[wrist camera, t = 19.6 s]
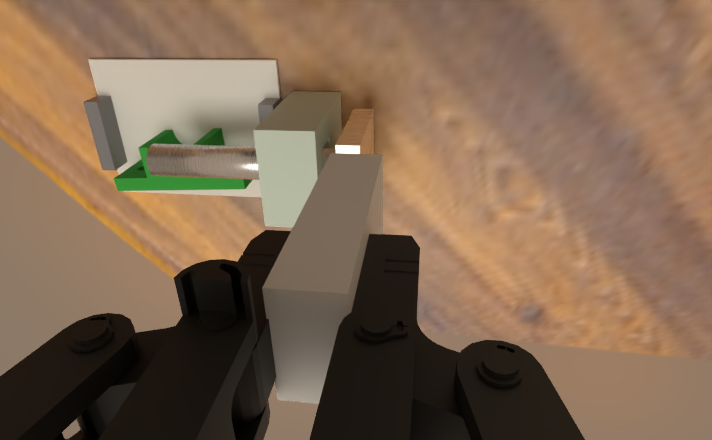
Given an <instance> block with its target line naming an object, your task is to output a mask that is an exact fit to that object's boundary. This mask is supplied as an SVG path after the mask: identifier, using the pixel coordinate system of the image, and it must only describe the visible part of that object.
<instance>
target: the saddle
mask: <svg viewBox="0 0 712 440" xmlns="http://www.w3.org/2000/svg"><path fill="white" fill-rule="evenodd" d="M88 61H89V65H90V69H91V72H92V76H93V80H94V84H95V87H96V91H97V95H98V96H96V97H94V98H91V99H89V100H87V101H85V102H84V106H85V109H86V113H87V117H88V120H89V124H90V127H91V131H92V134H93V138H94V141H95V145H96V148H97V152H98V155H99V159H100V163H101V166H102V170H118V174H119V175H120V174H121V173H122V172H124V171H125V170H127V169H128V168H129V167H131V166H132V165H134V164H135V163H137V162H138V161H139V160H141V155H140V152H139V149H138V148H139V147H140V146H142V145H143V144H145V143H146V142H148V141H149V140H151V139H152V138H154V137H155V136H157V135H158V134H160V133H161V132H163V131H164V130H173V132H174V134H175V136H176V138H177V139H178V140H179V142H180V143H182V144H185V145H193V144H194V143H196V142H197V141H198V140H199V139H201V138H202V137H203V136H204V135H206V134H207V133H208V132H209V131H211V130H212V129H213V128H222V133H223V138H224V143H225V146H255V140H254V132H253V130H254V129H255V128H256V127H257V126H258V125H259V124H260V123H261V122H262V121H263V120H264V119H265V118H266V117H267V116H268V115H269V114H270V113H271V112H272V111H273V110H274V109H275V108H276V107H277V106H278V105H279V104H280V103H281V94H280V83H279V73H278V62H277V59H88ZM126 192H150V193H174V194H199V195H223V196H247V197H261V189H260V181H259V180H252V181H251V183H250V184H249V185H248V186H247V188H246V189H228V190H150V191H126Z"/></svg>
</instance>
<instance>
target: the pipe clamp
mask: <svg viewBox="0 0 712 440" xmlns="http://www.w3.org/2000/svg"><path fill="white" fill-rule="evenodd" d="M152 144H182V143H180V142H179V140H178V139H177V138H176V136H175V134H174V132H173V130H164V131H163V132H161V133H160V134H158V135H157V136H155V137H154V138H152V139H151V140H149V141H148V142H146V143H145V144H143V145H142V146H140V147H139V148H138V149H139V152H140V155H141V160H139V161H138V162H137V163H135V164H134V165H132V166H131V167H129V168H128V169H127V170H125V171H124V172H122V173H121V174H120V175H118V176H117V177H115V178H114V180H115V184H116V187H117V190H118V191H150V190H228V189H246V188H247V186H248V185H249V184H250V183H251V181H252V180H250V179H223V178H196V177H169V176H153V175H152V174H151V173H150V172H149V170H148V167H147V162H146V156H147V151H148V149H149V147H150V146H151V145H152ZM193 145H222V146H225V143H224V138H223V133H222V128H213V129H212V130H211V131H209V132H208V133H207V134H206V135H204V136H203V137H202V138H201V139H199V140H198V141H197V142H196V143H194V144H193Z"/></svg>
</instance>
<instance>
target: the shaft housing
mask: <svg viewBox="0 0 712 440" xmlns="http://www.w3.org/2000/svg"><path fill="white" fill-rule="evenodd" d="M253 132H254V140H255V148H256V157H257V165H258V173H259V181H260V189H261V197H262V205H263V213H264V221H265V226H275V227H294V225H295V223H296V221H297V219H298V217H299V215H300V213H301V211H302V209H303V207H304V205H305V203H306V201H307V199H308V197H309V195H310V193H311V191H312V189H313V187H314V185H315V183H316V181H317V179H318V177H319V175H320V173H321V171H322V159H321V151H322V149H323V148H330V149H336V146H335V145H336V143H337V141H338V139H339V137H340V135H341V133H342V112H341V92H318V91H292V92H291V93H290V94H289V95H288V96H287V97H286V98H285V99H284V100H283V101H282V102H281V103H280V104H279V105H278V106H277V107H276V108H275V109H274V110H273V111H272V112H271V113H270V114H269V115H268V116H267V117H266V118H265V119H264V120H263V121H262V122H261V123H260V124H259V125H258V126H257V127H256V128H255V129H254V130H253Z"/></svg>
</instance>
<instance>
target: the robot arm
mask: <svg viewBox="0 0 712 440" xmlns="http://www.w3.org/2000/svg"><path fill="white" fill-rule="evenodd" d="M382 227H383V155H378V154H343V153H331V154H330V156H329V158H328V160H327V162H326V164H325V166H324V168H323V169H322V171H321V173H320V175H319V177H318V179H317V181H316V183H315V185H314V187H313V189H312V191H311V193H310V195H309V197H308V199H307V201H306V203H305V205H304V207H303V209H302V211H301V213H300V215H299V217H298V219H297V221H296V223H295V225H294V227H293V228H292V230H291V231H274V230H265V231H264V232H263V233H261V234H260V235H258V236H257V237H255V238H254V239H252V240H251V241H250V243H249V244H248V246H247V248H246V249H245V251H244V252H243V255H242V256H241V257H240V259H239V260H238V262H236V261H231V260H225V259H221V260H208V261H204V262H201V263H197V264H194V265H192V266H190V267H188V268H186V269H184V270H182V271H181V272H180V273H179V274H178V275H177V276H175V277H174V281H175V285H176V289H177V293H178V297H179V302H180V306H181V310H182V314H183V316H182V318H181V319H180V321H179V322H178V323H177V325H176V326H174V327H170V328H166V329H158V330H152V331H145V332H138V333H135V330H134V326H133V324H132V322H131V320H130V319H129V318H127V317H125V316H123V315H121V314H112V313H106V314H99V315H93V316H90V317H87V318H84V319H82V320H79V321H77V322H75V323H74V324H72V325H70V326H68V327H67V328H65V329H63V330H62V331H61V332H60V333H58V334H57V335H55V336H54V337H53V338H51V339H50V340H49V341H47V342H46V343H45V344H43V345H42V346H41V347H39V348H38V349H37V350H35V351H34V352H33V353H31V354H30V355H29V356H27V357H26V358H24V359H23V360H22V361H20V362H19V363H18V364H16V365H15V366H14V367H12V368H11V369H10V370H8V371H7V372H6V373H4V374H3V375H2V376H0V440H263V439H264V436H265V433H266V430H267V427H268V424H269V417H270V410H269V403H268V398H269V395H270V392H271V390H272V387H273V385H274V382H275V385H276V393H277V400H284V401H294V402H304V403H315V404H319V406H318V409H317V413H316V417H315V421H314V425H313V428H312V432H311V436H310V440H585V439H584V438H583V436H582V434H581V432H580V430H579V429H578V427H577V425H576V424H575V422H574V420H573V419H572V417H571V415H570V413H569V412H568V410H567V408H566V407H565V405H564V403H563V402H562V400H561V398H560V396H559V395H558V393H557V391H556V390H555V388H554V386H553V384H552V383H551V381H550V379H549V378H548V376H547V374H546V373H545V371H544V369H543V368H542V366H541V364H540V363H539V362H538V361H537V360H536V359H535V358H534V356H533V355H532V354H530V353H529V352H527V351H526V350H524V349H522V348H520V347H519V346H517V345H514V344H510V343H507V342H504V341H496V340H484V341H480V342H476V343H472V344H470V345H469V346H467V347H466V348H465V349H463V350H462V351H461V353H459V352H456V351H453V350H450V349H447V348H445V347H442V346H440V345H437V344H436V343H434V342H432V341H431V340H430V339H428V338H427V337H426V336H425V335H424V334H423V332H422V331H421V330H420V328H419V326H418V324H417V300H418V277H419V255H420V247H419V246H418V244H417V243H416V242H415V240H414V239H413V237H412V236H405V235H385V234H382ZM75 419H77V422H78V424H79V426H80V429H81V430H80V431H79V432H78V433H76V434H75V435H73V436H72V437H71V438H69V439H64V437H63V434H62V432H63V431H64V430H65V429H66V428H67V427H68V426H69V425H70V424H71V423H72V422H73V421H74V420H75Z"/></svg>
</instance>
